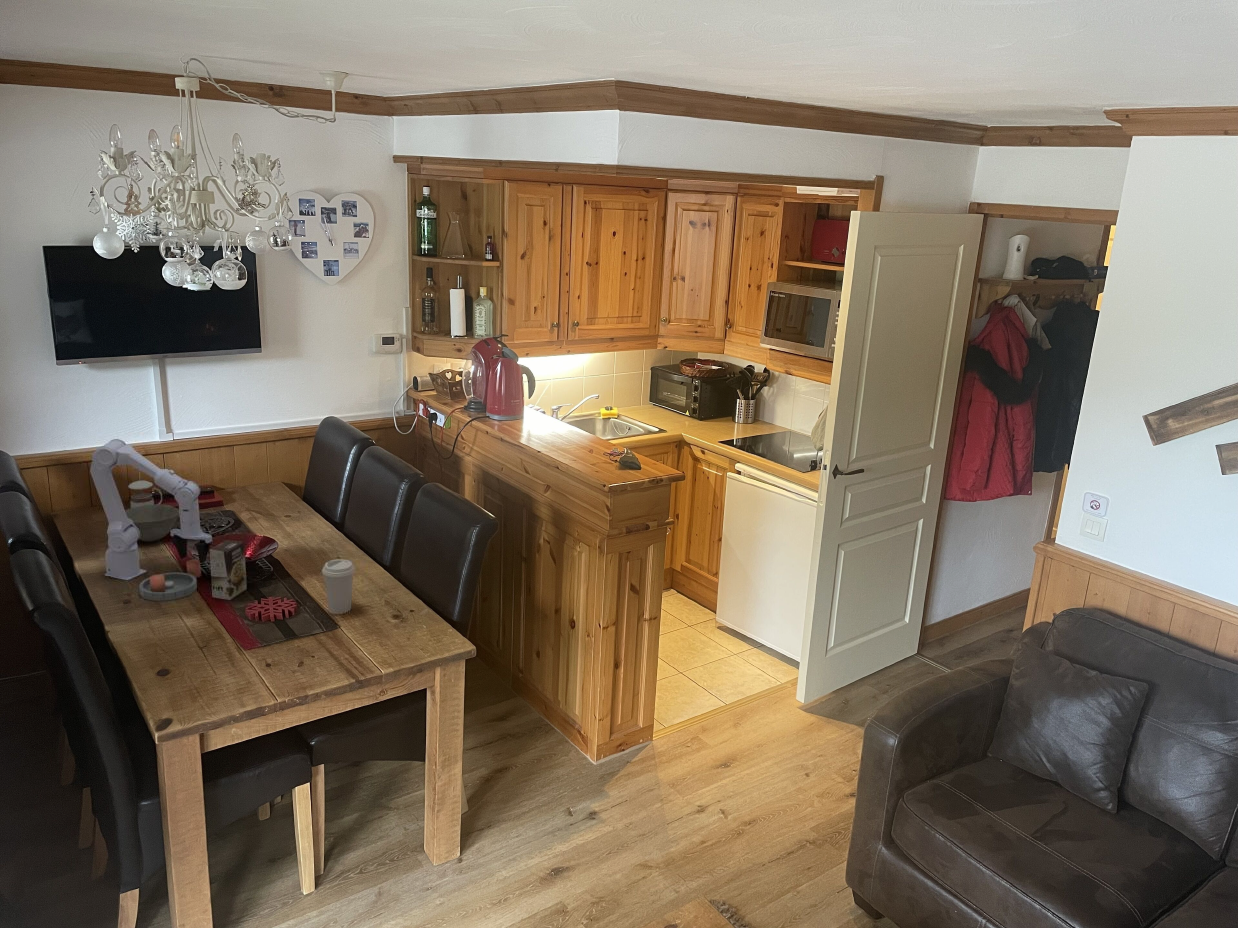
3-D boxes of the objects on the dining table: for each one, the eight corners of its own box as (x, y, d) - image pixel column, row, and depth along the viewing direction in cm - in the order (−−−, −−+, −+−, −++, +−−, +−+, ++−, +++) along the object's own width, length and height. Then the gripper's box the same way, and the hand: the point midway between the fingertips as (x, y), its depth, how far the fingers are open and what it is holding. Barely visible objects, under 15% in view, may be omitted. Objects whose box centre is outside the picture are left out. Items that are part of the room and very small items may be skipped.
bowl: (186, 543, 322) (184, 516, 319) (126, 552, 312) (123, 524, 309) (176, 526, 337) (174, 501, 334) (118, 534, 326) (116, 508, 324)
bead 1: (148, 593, 280) (146, 578, 279) (157, 588, 284) (156, 573, 283) (158, 595, 279) (157, 580, 278) (168, 590, 283) (167, 575, 282)
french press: (129, 516, 343) (123, 453, 336) (164, 514, 348) (158, 451, 341) (128, 525, 335) (122, 460, 328) (163, 522, 340) (158, 458, 333)
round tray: (127, 595, 281) (127, 587, 280) (167, 576, 295) (166, 569, 295) (170, 604, 276) (169, 597, 276) (208, 585, 291) (207, 577, 290)
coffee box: (230, 600, 282) (227, 551, 277) (211, 597, 283) (208, 548, 278) (247, 588, 290) (245, 541, 286) (229, 586, 291) (226, 538, 287)
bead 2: (184, 576, 296) (183, 562, 294) (193, 572, 300) (192, 558, 298) (194, 578, 295) (193, 564, 293) (203, 574, 298) (202, 560, 297)
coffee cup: (346, 600, 286) (345, 555, 282) (361, 610, 280) (360, 565, 276) (317, 608, 280) (316, 563, 276) (332, 619, 273) (331, 573, 269)
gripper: (217, 519, 293) (220, 558, 297) (180, 512, 297) (184, 551, 301) (201, 526, 287) (204, 566, 291) (164, 519, 291) (167, 559, 295)
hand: (193, 559), depth 296 cm, fingers open, 7 cm apart
